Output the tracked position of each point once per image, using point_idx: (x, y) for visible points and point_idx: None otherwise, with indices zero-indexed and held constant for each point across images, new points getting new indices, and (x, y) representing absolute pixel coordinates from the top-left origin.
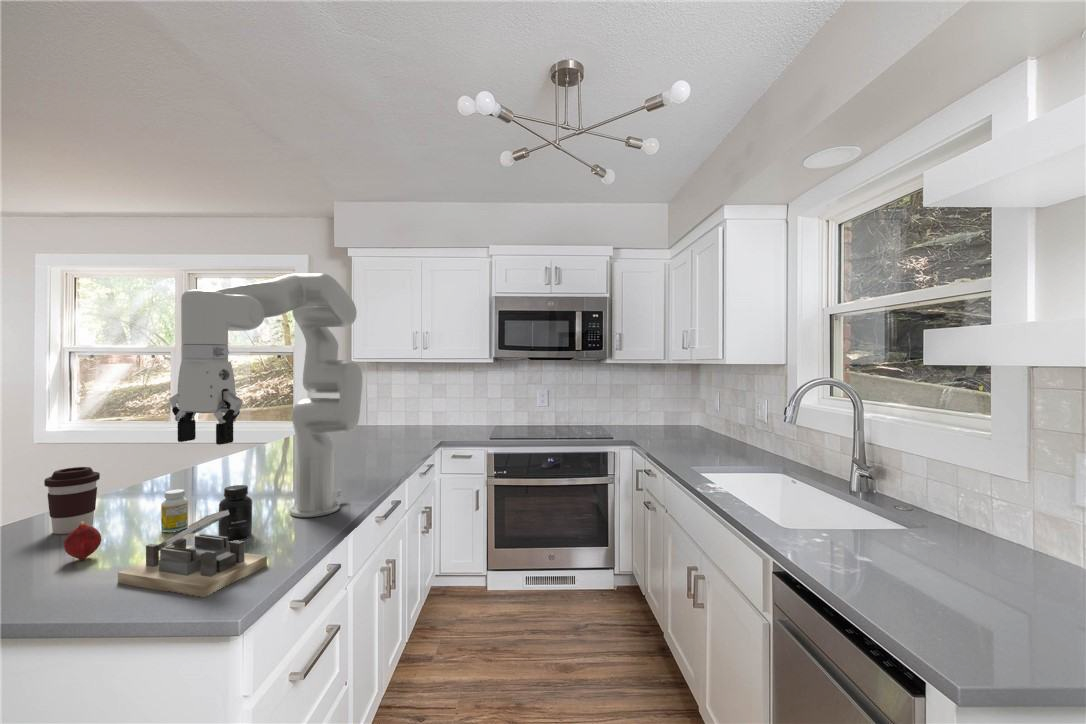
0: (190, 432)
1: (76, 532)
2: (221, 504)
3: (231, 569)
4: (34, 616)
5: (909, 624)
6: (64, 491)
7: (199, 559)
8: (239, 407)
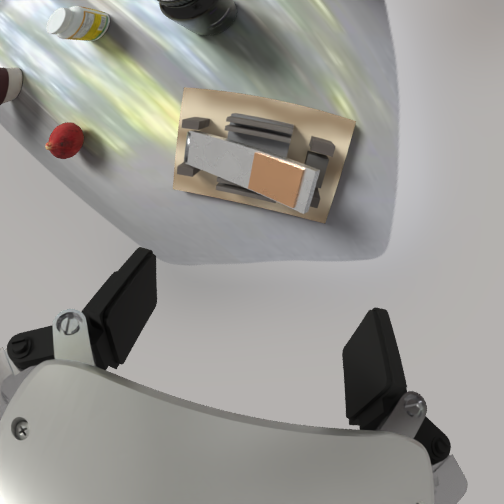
0: (141, 296)
1: (57, 154)
2: (174, 18)
3: (330, 172)
4: (174, 255)
5: None
6: None
7: None
8: (452, 468)
